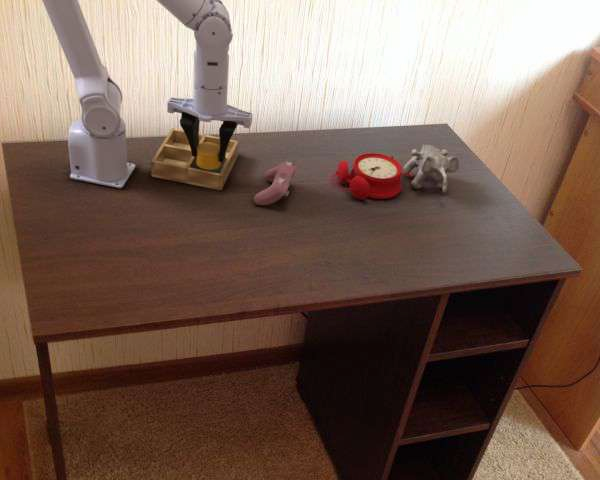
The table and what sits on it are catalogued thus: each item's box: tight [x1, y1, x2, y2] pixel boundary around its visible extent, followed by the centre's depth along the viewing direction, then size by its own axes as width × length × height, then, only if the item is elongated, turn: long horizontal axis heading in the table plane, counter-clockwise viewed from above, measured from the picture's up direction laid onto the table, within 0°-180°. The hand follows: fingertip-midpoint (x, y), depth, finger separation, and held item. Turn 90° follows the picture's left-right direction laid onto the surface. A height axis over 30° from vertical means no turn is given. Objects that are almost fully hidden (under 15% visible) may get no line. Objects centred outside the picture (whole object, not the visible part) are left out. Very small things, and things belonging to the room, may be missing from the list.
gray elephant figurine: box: [402, 144, 460, 194], centre depth 142 cm, size 9×12×8 cm
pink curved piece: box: [253, 160, 298, 206], centre depth 135 cm, size 10×5×7 cm, turn 169°
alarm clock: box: [330, 152, 414, 201], centre depth 141 cm, size 10×6×15 cm
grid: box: [150, 127, 240, 191], centre depth 139 cm, size 13×13×3 cm
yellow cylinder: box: [196, 142, 221, 170], centre depth 135 cm, size 4×4×3 cm
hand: (208, 156), depth 135 cm, fingers closed on yellow cylinder, 4 cm apart
